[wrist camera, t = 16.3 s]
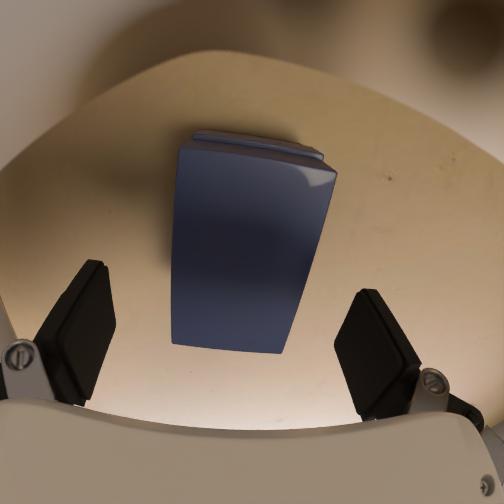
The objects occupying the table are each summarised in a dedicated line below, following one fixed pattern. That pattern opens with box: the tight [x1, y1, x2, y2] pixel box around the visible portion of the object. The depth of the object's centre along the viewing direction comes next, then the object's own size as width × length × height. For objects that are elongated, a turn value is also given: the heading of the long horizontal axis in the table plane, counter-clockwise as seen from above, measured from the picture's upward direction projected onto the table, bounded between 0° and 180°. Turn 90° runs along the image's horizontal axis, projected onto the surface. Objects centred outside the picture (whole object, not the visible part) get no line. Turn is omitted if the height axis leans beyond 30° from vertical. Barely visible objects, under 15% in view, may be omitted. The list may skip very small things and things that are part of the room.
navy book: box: [171, 139, 337, 354], centre depth 13 cm, size 10×6×2 cm, turn 171°
